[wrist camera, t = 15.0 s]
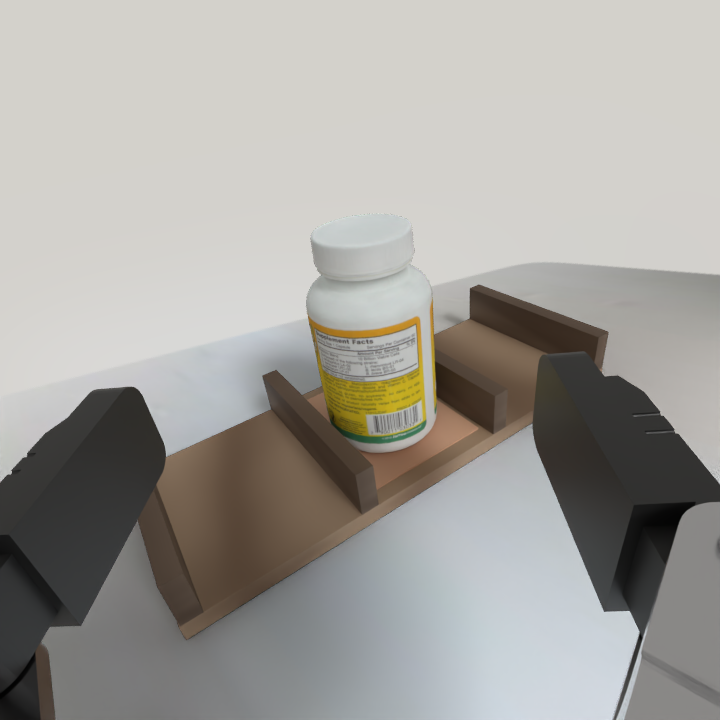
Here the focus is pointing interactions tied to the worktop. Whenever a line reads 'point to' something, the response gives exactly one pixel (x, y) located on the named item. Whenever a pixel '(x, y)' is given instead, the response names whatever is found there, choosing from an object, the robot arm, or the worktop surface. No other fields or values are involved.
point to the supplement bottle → (373, 332)
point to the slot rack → (337, 463)
